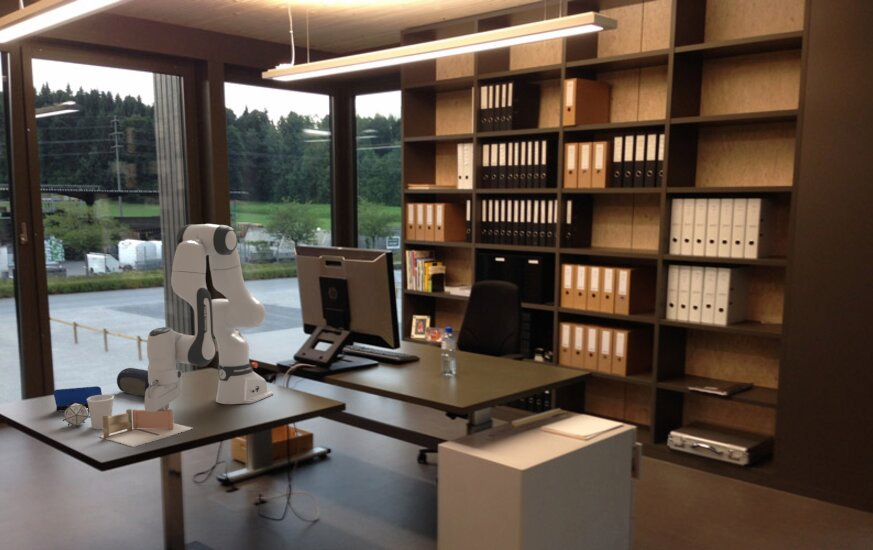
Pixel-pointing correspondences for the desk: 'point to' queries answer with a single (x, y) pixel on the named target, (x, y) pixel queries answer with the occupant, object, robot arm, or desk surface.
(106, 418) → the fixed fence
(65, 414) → the game die
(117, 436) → the card
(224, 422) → the desk surface
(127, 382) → the portable speaker
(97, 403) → the dixie cup
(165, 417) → the fence gate
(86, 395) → the handheld game console
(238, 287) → the robot arm
